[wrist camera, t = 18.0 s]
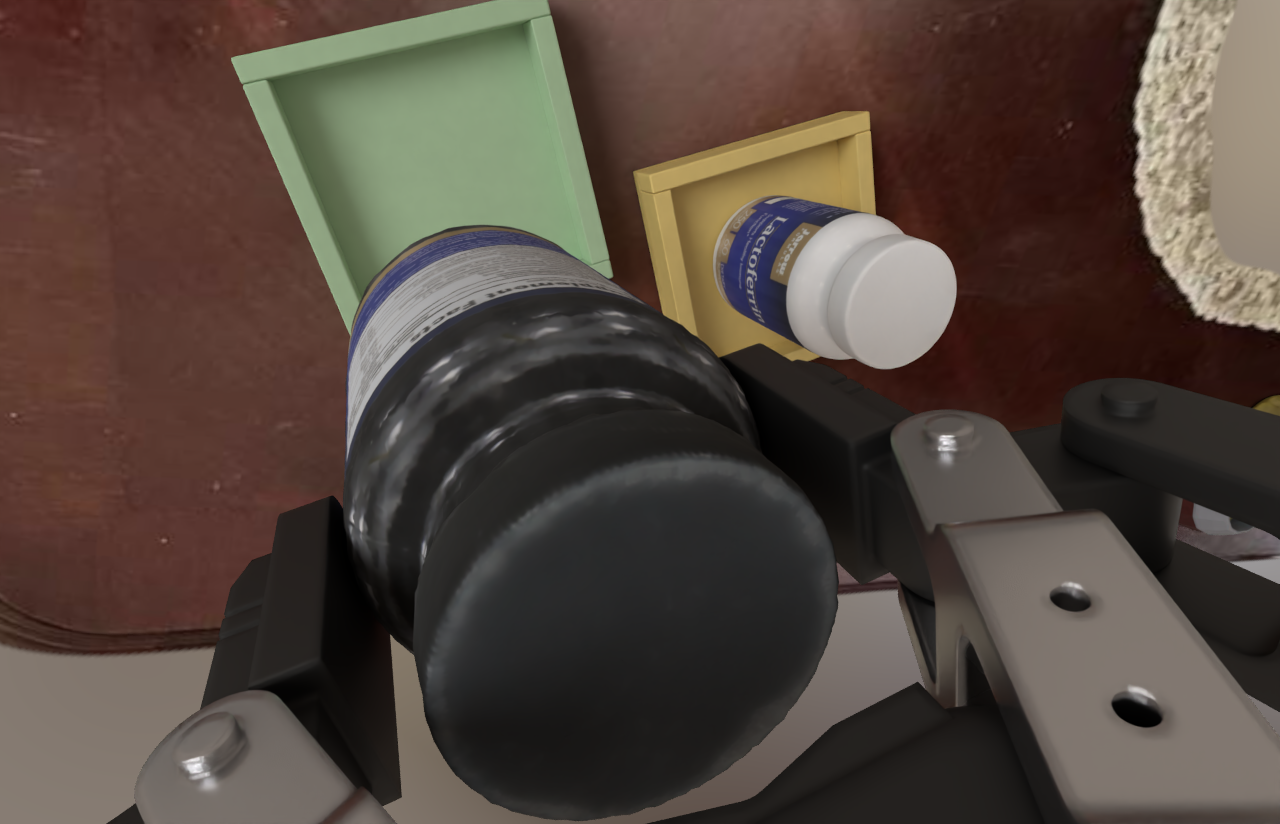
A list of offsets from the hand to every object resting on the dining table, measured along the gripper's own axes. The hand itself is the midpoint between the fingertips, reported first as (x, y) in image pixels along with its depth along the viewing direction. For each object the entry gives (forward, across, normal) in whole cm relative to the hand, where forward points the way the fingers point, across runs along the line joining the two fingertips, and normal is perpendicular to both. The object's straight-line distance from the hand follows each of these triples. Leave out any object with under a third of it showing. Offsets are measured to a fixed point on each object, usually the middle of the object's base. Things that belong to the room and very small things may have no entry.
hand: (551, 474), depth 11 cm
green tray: (+20, -1, -2) cm, 20 cm away
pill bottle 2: (+20, -14, +4) cm, 25 cm away
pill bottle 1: (+7, 0, 0) cm, 7 cm away
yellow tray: (+20, -14, +4) cm, 25 cm away
